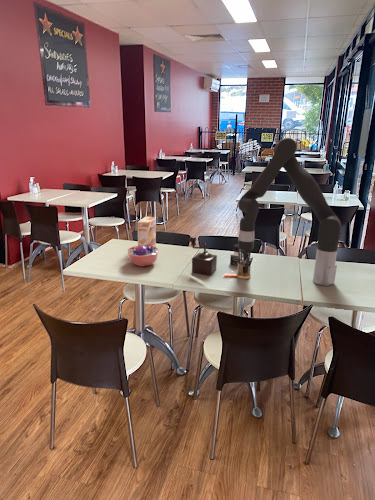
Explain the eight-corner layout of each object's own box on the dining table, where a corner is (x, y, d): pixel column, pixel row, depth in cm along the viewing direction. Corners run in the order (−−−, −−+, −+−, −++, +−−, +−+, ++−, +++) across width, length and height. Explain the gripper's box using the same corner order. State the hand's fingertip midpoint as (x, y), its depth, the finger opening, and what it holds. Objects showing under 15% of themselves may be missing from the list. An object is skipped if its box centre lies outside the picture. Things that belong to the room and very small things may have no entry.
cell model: (161, 259, 215) (161, 240, 212) (155, 271, 196) (154, 251, 193) (132, 257, 217) (131, 238, 213) (123, 269, 198) (122, 249, 195)
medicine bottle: (229, 266, 205) (230, 245, 201) (234, 262, 211) (235, 242, 207) (242, 269, 202) (243, 247, 198) (246, 265, 208) (248, 244, 204)
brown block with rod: (248, 274, 191) (249, 261, 189) (251, 279, 185) (252, 265, 183) (222, 274, 190) (223, 261, 188) (224, 279, 183) (225, 266, 181)
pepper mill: (217, 271, 198) (218, 238, 192) (210, 278, 188) (211, 244, 183) (190, 267, 204) (190, 235, 198) (182, 273, 194) (182, 240, 188)
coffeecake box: (148, 254, 223) (148, 222, 217) (137, 253, 225) (136, 221, 219) (156, 247, 237) (156, 216, 231) (145, 246, 238) (145, 216, 232)
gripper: (259, 242, 176) (256, 276, 181) (247, 234, 189) (245, 266, 194) (244, 243, 174) (242, 278, 180) (233, 235, 187) (232, 267, 193)
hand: (244, 271), depth 187 cm, fingers closed on brown block with rod, 2 cm apart
